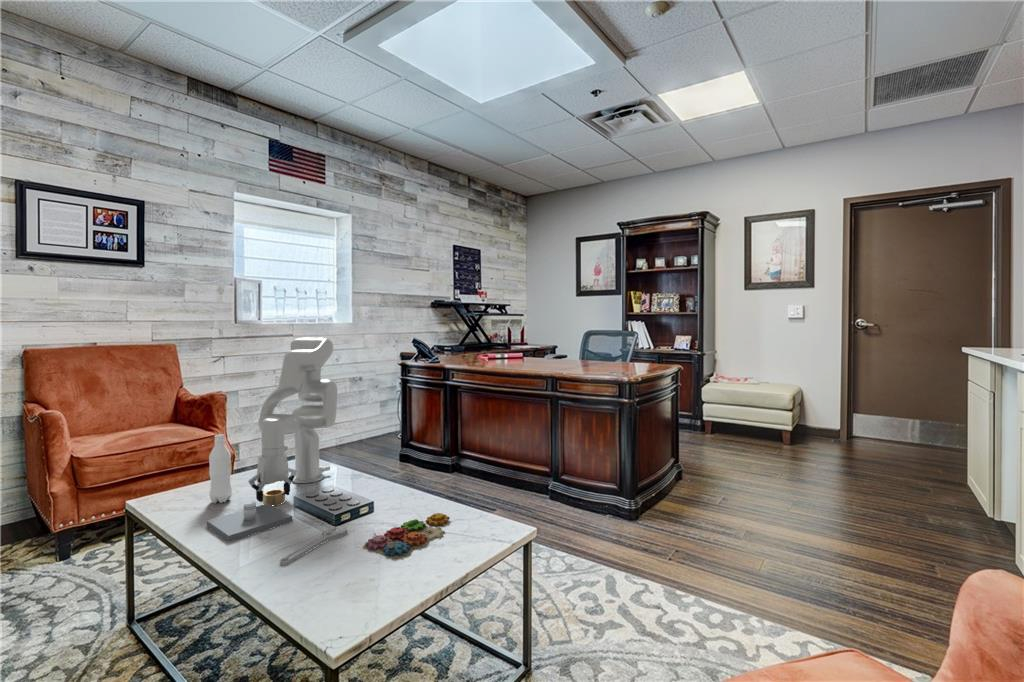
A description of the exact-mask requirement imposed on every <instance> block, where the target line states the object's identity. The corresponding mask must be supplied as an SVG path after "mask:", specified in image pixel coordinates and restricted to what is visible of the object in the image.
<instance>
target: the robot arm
mask: <svg viewBox="0 0 1024 682" xmlns="http://www.w3.org/2000/svg"><path fill="white" fill-rule="evenodd" d="M333 352H334V345H333V342H332V340H330V339H329V338H326V337H325V338H324V337H299V338H295V339H293V340H292V341H291V342H290V350H289V351H287V352H286V353H285V354H284V356H283V357H284V358H283V361H282V367H281V371H280V376H279V382H278V386H277V387H276V388H275V390H273V391H272V392H271V393H270V394H269V395H268V396H267V398H266V399H265V400H264V402H263V404H262V406H261V410H260V414H259V421H258V428H259V431H260V432H261V455H260V456H258V457H259V458H258V461H257V467H256V469H257V470H256V475H254V476H252V477H251V478H250V479H248V481H247V482H248V484H249V486H250V487H251V488H252V489H254V490H255V495H256V500H257V502H259V503H263V494H264V490H263V488H264V487H265V486H267V485H273V484H276V483H280V482H283V490H284V491H285V496H289V495H290V492H291V484H292V483H295V484H310V483H316V482H318V481H321V480H322V479H324V474H323V473H324V472H327V471H330V470H331V466H330V465H326V466H324V465H322V466H321V465H320V437H319V434H318V432H317V430H316V429H330V428H332V427H333V425H335V423H336V417H337V407H338V406H337V404H338V386H337V384H336V382H335V381H334V380H332V379H321V377H322V376H321V373H322V368H323V367H324V365H325V364H326V362H327V361H328V360H329V359H330V358H331V356H332V354H333ZM296 394H297V397H298V399H299V400H300V401H302V402H307V403H322V404H302V405H298V406H296V407H295V408H294V409H293V410H292V413H274V411H275V409H276V407H277V405H278V404H279V403H280V402H282V401H283V400H285V399H287V398H289V397H291V396H294V395H296ZM291 434H294V458H295V459H294V466H295V467H294V468H295V469H293V468H290V467H289V462H288V457H287V454H286V453H285V452H286V451H287V450H288V448H289V446H287V445H286V446H285V435H291ZM289 473H290V475H289ZM256 481H257V484H256V483H255V482H256Z"/></svg>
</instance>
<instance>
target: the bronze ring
mask: <svg viewBox="0 0 1024 682" xmlns="http://www.w3.org/2000/svg"><path fill="white" fill-rule="evenodd" d="M284 501H285V502H286V494H285V491H284V489H282V488H278V489H277V488H275V489H270V490H267V491H265V492H263V502H262V503H263V504H270V505H278V504H281V503H283V502H284ZM285 502H284V503H285ZM284 503H283V504H284ZM263 504H262V505H263ZM281 505H282V504H281ZM278 506H279V505H278Z"/></svg>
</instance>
